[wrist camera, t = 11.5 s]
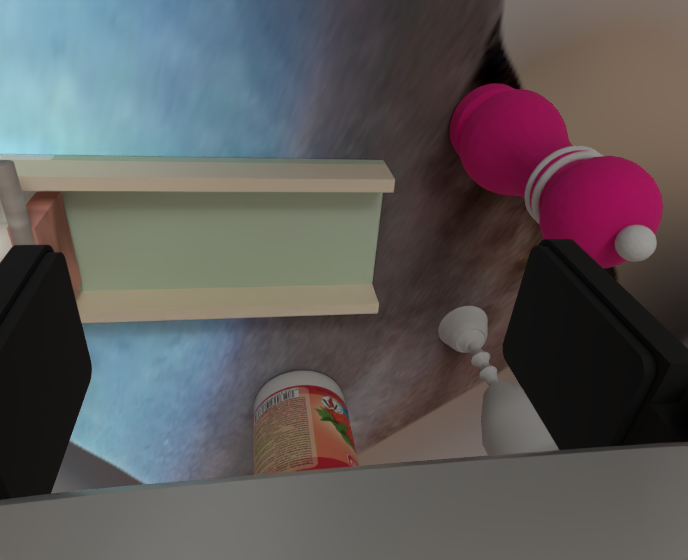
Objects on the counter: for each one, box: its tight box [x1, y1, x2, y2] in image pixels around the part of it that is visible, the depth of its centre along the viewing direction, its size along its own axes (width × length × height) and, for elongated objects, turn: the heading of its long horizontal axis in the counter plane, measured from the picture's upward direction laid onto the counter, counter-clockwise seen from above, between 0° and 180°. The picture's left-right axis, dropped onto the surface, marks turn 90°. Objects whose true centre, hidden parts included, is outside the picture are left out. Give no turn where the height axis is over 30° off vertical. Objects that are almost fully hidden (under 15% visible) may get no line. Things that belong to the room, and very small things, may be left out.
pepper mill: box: [450, 83, 663, 268], centre depth 33 cm, size 7×7×20 cm
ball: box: [0, 222, 12, 262], centre depth 38 cm, size 4×4×4 cm
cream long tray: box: [0, 154, 395, 323], centre depth 39 cm, size 12×32×8 cm, turn 86°
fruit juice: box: [253, 370, 359, 475], centre depth 43 cm, size 9×9×28 cm
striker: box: [0, 160, 81, 295], centre depth 34 cm, size 16×2×13 cm, turn 176°
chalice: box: [438, 306, 559, 456], centre depth 45 cm, size 7×7×18 cm
